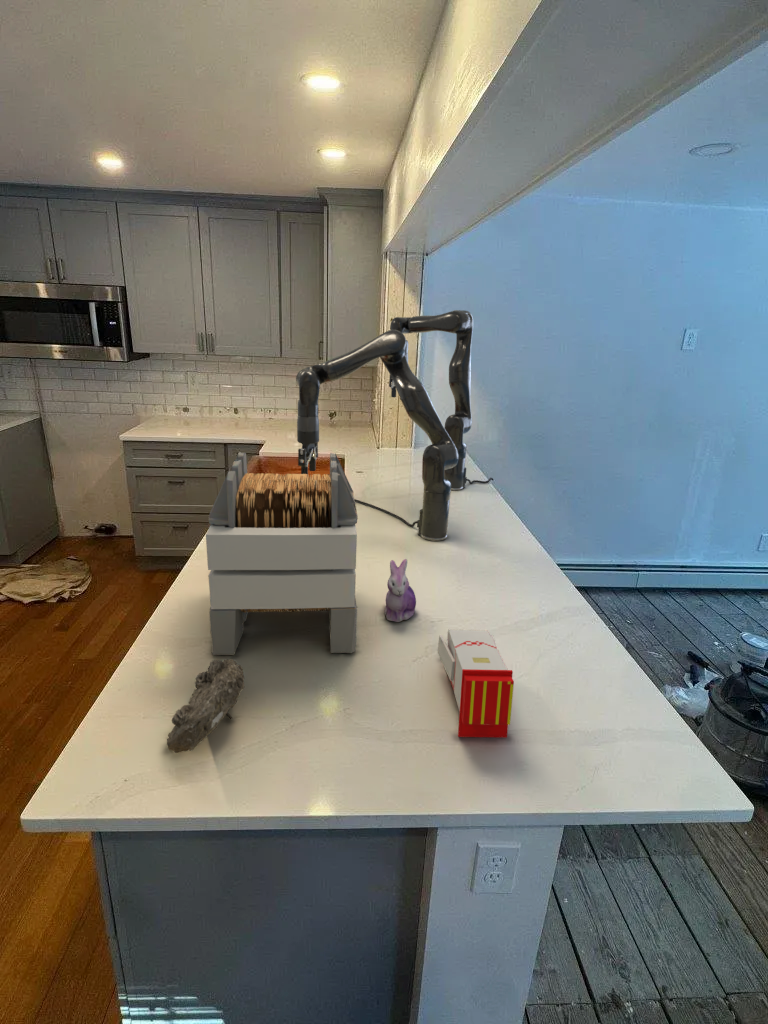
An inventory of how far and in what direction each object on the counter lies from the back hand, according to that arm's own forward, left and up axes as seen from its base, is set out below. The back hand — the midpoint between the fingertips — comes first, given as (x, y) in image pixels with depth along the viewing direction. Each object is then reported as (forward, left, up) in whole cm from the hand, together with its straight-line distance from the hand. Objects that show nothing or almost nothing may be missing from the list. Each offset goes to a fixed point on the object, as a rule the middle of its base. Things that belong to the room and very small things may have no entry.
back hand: (397, 398), depth 266 cm
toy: (+67, +156, -35) cm, 173 cm away
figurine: (+65, +122, -35) cm, 143 cm away
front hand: (+63, +50, -17) cm, 82 cm away
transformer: (+92, +112, -35) cm, 149 cm away
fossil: (+117, +142, -35) cm, 187 cm away
